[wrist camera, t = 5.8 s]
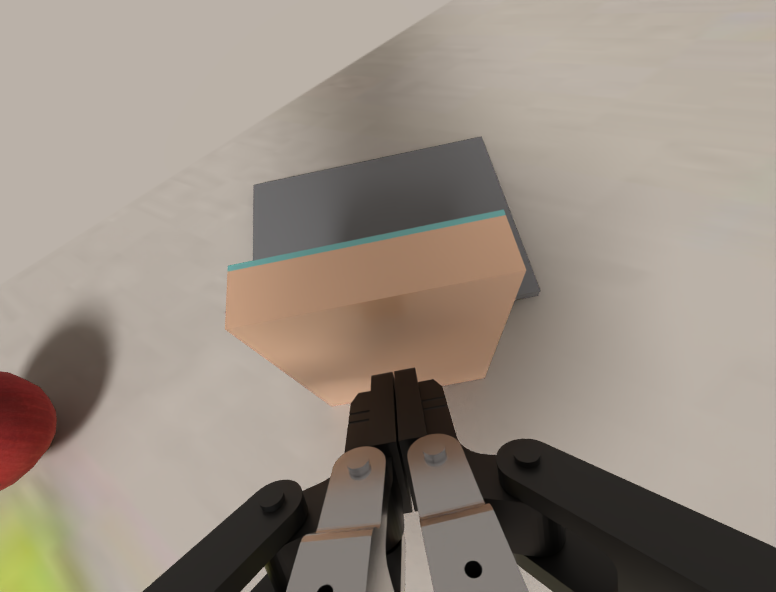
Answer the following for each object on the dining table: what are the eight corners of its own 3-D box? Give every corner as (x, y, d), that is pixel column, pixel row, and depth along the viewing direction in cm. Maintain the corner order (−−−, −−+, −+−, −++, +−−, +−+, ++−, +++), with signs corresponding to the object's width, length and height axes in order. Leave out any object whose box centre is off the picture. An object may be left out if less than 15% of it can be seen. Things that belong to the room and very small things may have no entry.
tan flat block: (331, 406, 20) (225, 329, 10) (328, 369, 21) (227, 265, 11) (484, 378, 20) (526, 270, 10) (474, 341, 21) (503, 209, 11)
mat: (256, 349, 22) (252, 346, 21) (257, 190, 27) (253, 185, 27) (537, 295, 21) (540, 290, 21) (480, 143, 27) (481, 136, 26)
